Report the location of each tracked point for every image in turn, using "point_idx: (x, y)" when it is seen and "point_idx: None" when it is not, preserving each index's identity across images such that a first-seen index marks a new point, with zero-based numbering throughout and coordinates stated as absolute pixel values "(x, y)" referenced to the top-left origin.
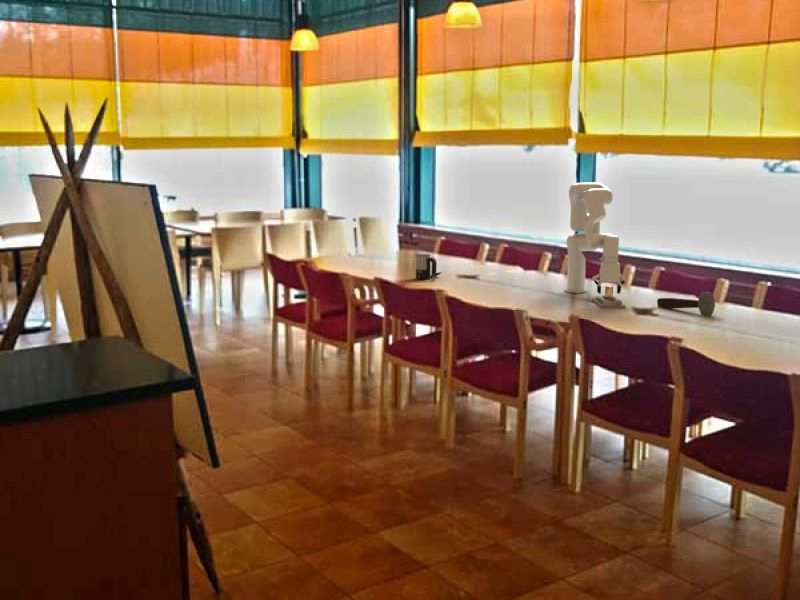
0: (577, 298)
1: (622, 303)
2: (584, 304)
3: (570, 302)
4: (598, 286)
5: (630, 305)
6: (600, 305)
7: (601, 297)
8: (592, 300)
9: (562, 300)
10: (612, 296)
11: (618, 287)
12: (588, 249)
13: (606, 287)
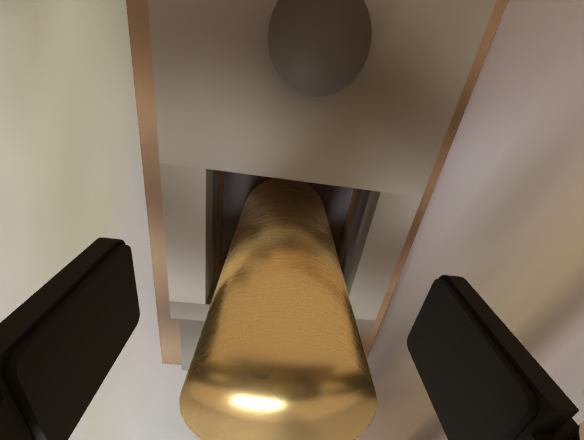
0: (417, 417)
1: (138, 91)
2: (525, 232)
3: (570, 321)
4: (562, 419)
5: (44, 103)
6: (491, 29)
7: (361, 285)
8: None
9: (563, 381)
10: (241, 233)
11: (47, 343)
12: None
13: (367, 372)
